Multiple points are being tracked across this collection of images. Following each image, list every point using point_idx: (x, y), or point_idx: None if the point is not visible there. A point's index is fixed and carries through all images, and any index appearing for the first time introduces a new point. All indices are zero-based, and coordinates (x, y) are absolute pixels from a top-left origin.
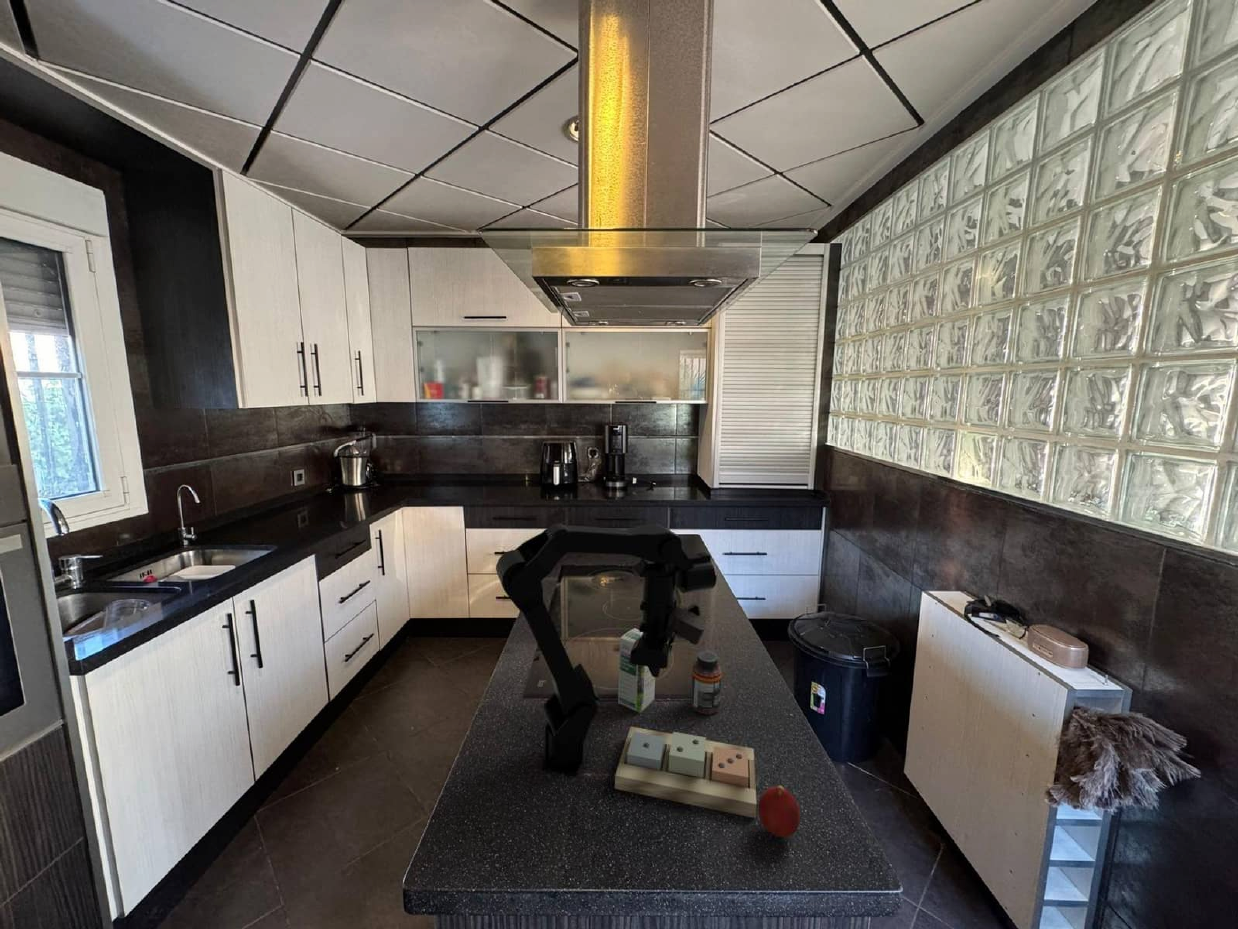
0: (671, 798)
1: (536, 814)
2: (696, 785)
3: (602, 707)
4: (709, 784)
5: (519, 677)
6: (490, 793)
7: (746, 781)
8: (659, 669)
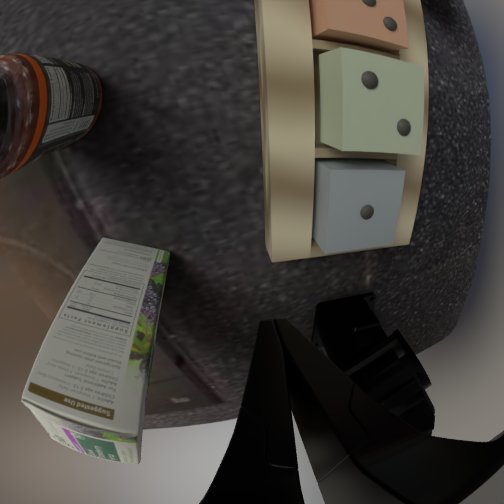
0: None
1: (421, 300)
2: None
3: (188, 322)
4: (407, 58)
5: (185, 415)
6: None
7: None
8: (325, 355)
